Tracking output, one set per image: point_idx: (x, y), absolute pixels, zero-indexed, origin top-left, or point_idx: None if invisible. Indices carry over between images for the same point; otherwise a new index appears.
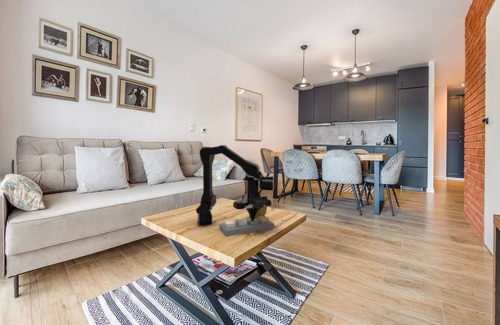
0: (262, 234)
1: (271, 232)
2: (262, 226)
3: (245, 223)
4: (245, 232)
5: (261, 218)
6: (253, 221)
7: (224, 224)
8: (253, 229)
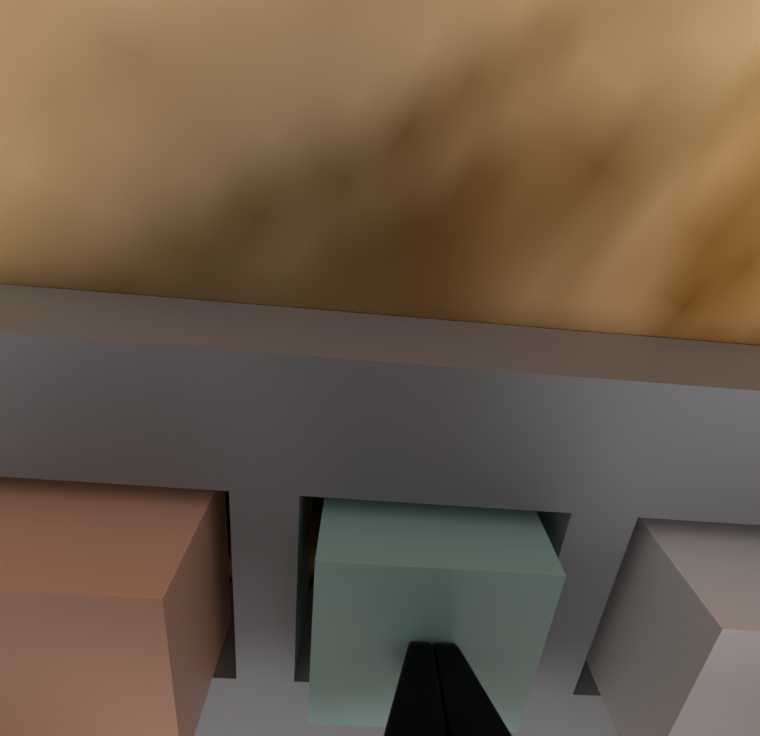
0: (457, 47)
1: (146, 45)
2: (280, 337)
3: (727, 580)
4: (742, 348)
5: (136, 646)
6: (442, 604)
7: None
8: (552, 347)
